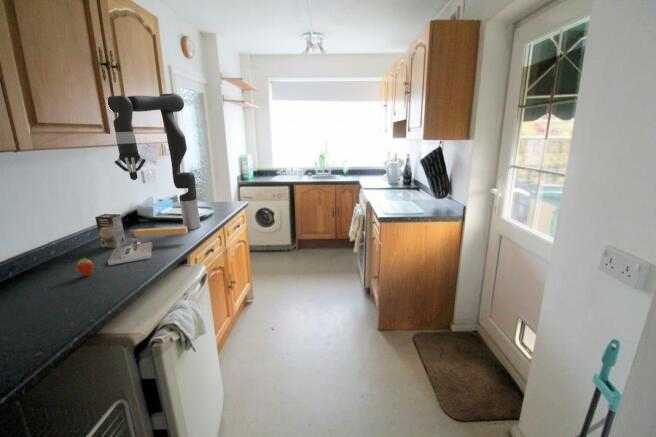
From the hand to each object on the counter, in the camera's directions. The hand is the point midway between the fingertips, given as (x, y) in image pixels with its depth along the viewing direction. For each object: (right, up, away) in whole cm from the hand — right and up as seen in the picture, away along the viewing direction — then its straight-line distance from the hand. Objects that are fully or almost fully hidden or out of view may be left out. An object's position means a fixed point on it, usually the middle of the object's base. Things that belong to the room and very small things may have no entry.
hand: (134, 179), depth 146 cm
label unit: (-1, -36, -1) cm, 36 cm away
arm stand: (-7, -32, +12) cm, 35 cm away
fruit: (-6, -42, -21) cm, 47 cm away
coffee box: (-18, -33, +13) cm, 39 cm away
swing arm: (+5, -27, +12) cm, 30 cm away
